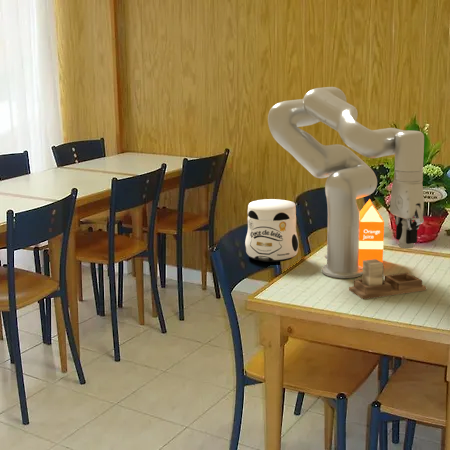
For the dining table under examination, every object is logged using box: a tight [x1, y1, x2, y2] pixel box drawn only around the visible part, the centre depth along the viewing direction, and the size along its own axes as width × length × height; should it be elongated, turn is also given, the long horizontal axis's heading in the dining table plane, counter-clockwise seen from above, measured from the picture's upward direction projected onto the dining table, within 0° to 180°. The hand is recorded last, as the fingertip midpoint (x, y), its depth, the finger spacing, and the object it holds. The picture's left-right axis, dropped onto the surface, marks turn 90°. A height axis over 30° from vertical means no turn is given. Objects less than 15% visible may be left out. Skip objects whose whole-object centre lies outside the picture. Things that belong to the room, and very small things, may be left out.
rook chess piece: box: [397, 219, 415, 249], centre depth 201 cm, size 4×4×8 cm
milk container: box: [244, 198, 300, 263], centre depth 234 cm, size 17×17×18 cm
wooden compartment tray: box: [348, 259, 427, 300], centre depth 203 cm, size 8×20×9 cm, turn 109°
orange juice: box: [359, 198, 385, 268], centre depth 226 cm, size 8×9×20 cm
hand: (406, 240), depth 202 cm, fingers closed on rook chess piece, 4 cm apart
